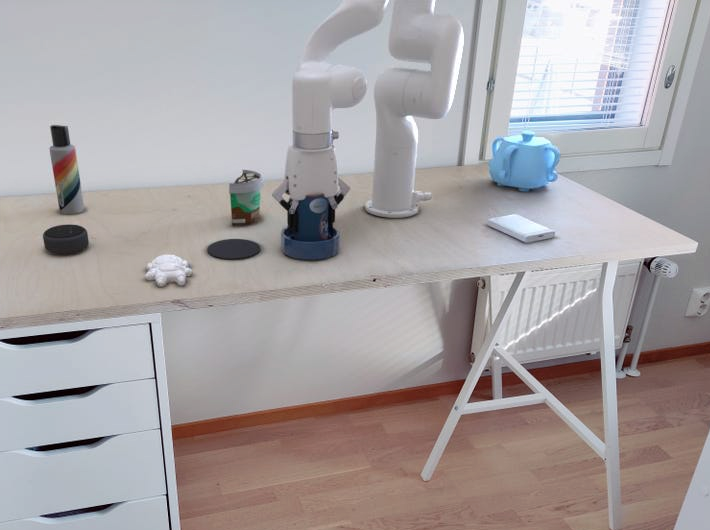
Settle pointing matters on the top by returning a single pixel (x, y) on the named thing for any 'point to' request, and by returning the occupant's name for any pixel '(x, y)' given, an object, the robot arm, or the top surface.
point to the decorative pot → (524, 161)
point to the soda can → (312, 219)
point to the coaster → (233, 249)
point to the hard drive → (521, 228)
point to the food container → (245, 198)
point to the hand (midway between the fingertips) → (311, 227)
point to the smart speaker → (65, 239)
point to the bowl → (309, 245)
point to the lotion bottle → (65, 171)
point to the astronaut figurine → (168, 270)
